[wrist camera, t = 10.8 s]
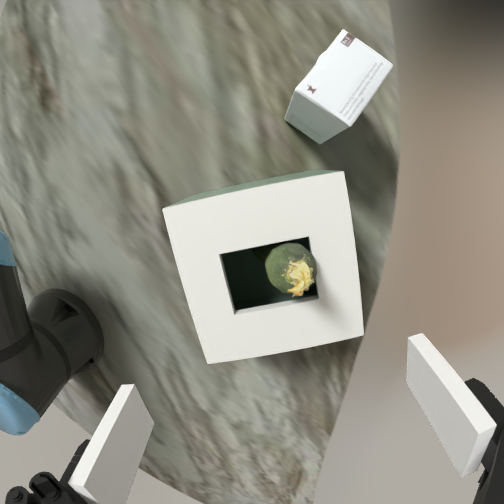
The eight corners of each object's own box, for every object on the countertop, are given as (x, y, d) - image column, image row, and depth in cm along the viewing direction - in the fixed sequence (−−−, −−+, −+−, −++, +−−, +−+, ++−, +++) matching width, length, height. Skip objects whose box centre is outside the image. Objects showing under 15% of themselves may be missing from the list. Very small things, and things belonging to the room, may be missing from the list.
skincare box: (319, 145, 39) (351, 135, 25) (280, 118, 38) (291, 92, 24) (354, 97, 37) (398, 66, 23) (316, 69, 36) (343, 25, 22)
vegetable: (280, 228, 41) (348, 256, 22) (279, 262, 42) (343, 315, 23) (245, 228, 41) (287, 258, 21) (245, 262, 41) (285, 320, 22)
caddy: (222, 307, 45) (207, 363, 32) (194, 194, 41) (162, 209, 28) (335, 285, 44) (363, 335, 30) (316, 169, 40) (343, 171, 26)
